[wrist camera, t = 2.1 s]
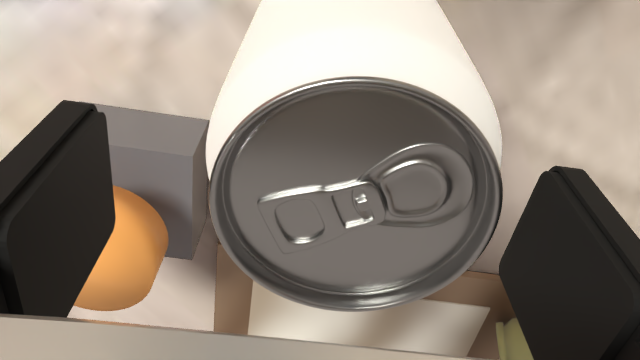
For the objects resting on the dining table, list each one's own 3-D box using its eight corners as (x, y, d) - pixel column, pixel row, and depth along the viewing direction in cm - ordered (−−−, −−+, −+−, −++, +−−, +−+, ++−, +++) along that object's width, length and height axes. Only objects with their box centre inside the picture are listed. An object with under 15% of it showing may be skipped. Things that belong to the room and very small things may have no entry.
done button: (167, 191, 19) (150, 227, 17) (169, 279, 21) (155, 317, 19) (38, 174, 18) (9, 208, 17) (57, 265, 21) (33, 302, 19)
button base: (208, 120, 22) (192, 156, 20) (206, 218, 25) (192, 260, 23) (79, 101, 22) (46, 135, 19) (93, 203, 25) (66, 243, 23)
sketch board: (536, 279, 27) (540, 288, 27) (453, 428, 36) (455, 437, 35) (219, 238, 26) (217, 245, 26) (211, 401, 35) (210, 409, 34)
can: (446, 71, 21) (544, 291, 11) (298, 116, 22) (264, 348, 12) (407, -99, 17) (500, -6, 7) (235, -33, 19) (118, 120, 9)
